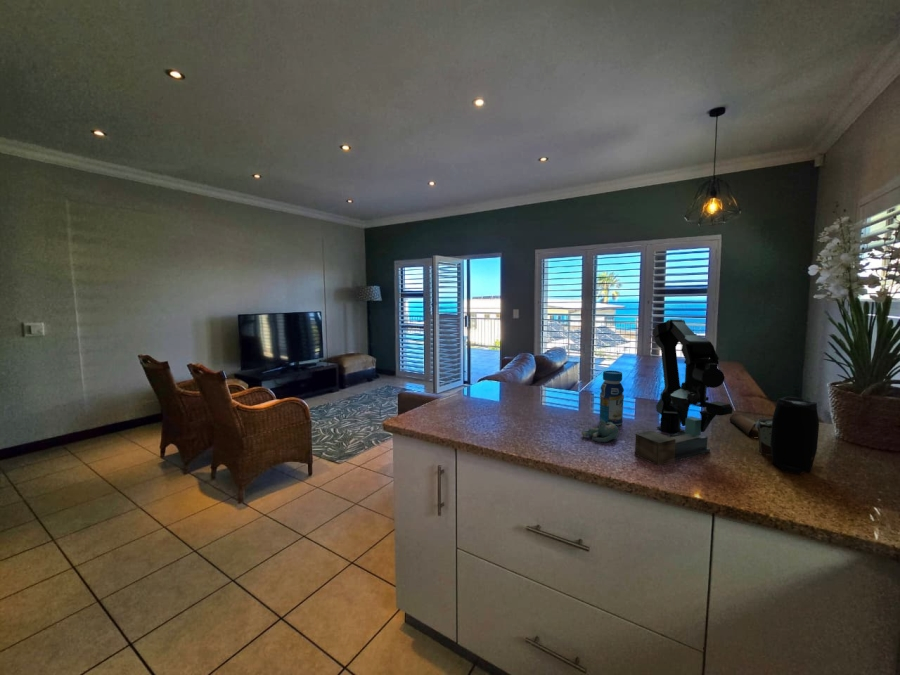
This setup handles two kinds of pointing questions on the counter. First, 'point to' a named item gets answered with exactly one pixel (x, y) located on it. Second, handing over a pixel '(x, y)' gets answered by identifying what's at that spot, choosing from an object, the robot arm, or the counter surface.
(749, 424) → the sunglasses case
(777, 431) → the portable speaker
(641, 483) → the counter surface
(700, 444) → the sleeve channel
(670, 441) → the socket block
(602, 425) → the stuffed animal
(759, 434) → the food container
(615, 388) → the beverage bottle
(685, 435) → the teal angled piece
